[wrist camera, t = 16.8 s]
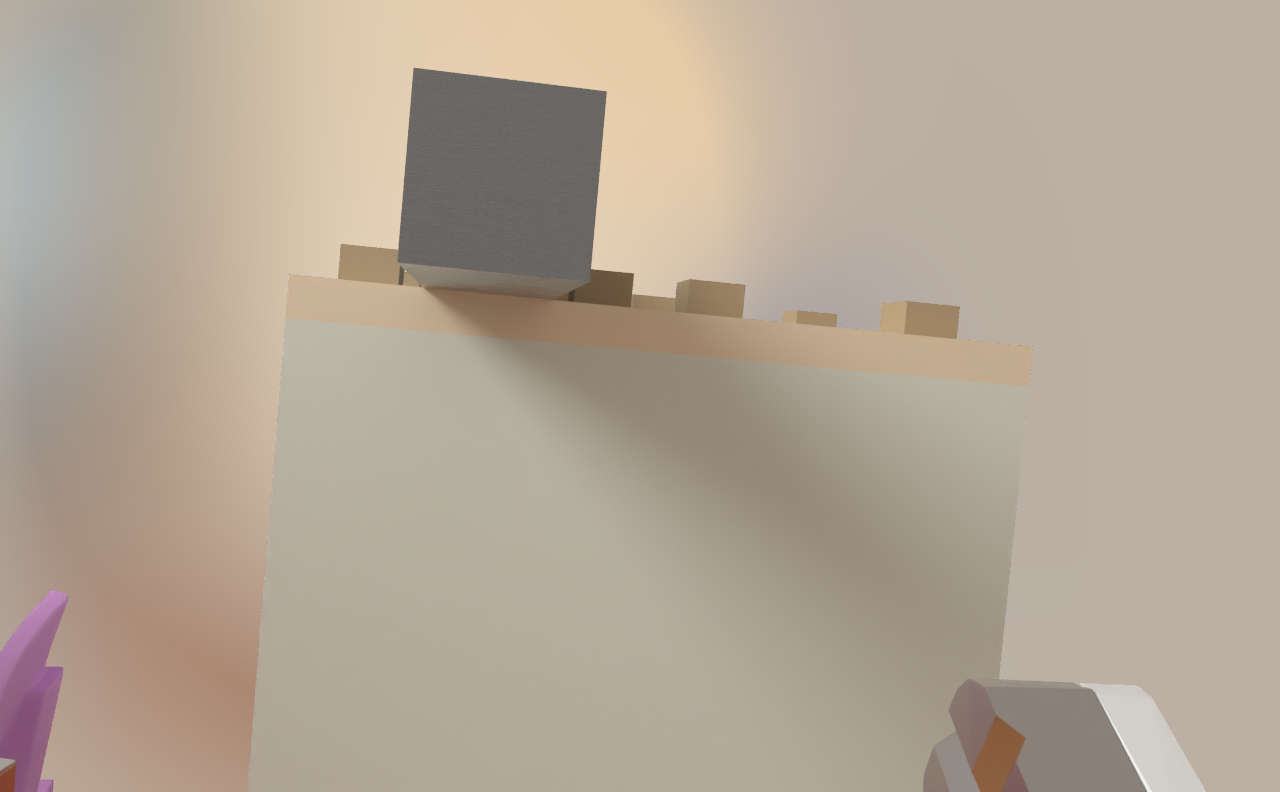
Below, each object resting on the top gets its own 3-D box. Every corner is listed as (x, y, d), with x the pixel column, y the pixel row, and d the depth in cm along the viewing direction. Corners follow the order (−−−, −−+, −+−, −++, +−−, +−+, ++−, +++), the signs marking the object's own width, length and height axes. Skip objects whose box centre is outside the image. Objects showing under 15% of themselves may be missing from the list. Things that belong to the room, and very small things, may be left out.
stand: (928, 1355, 30) (1037, 306, 29) (199, 1379, 28) (292, 230, 27) (749, 955, 50) (810, 319, 49) (313, 947, 48) (369, 275, 47)
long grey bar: (589, 281, 19) (606, 91, 19) (397, 262, 18) (414, 68, 18) (521, 315, 46) (528, 238, 46) (444, 307, 46) (450, 230, 46)
